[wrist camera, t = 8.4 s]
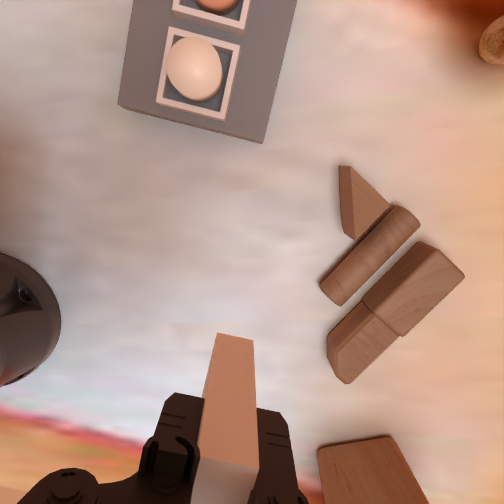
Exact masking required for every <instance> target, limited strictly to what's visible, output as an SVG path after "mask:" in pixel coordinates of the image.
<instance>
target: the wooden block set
mask: <svg viewBox="0 0 504 504" xmlns="http://www.w3.org/2000/svg"><path fill="white" fill-rule="evenodd" d="M339 190H340V205H341V218H342V226H343V230H344V233H345V234H346V235H348V236H349V237H351V238H352V239H354V240H355V241H356V240H357V239H358V238H359V237H360V236H361V235H362V234H363V233H364V232H365V231H366V230H367V229H368V227H369V226H370V225H371V224H372V223H373V222H374V221H375V220H376V219H377V218H378V217H379V216H380V215H381V214H382V213H383V212H384V211H385V210H386V209H387V208H388V207H389V206H390V204H389V203H388V202H387V201H386V200H385V199H384V198H383V197H382V196H381V195H380V194H379V193H378V192H377V191H376V190H375V189H374V188H372V187H371V186H370V185H369V184H368V183H367V182H366V181H365V180H364V179H363V178H362V177H361V176H360V175H359V174H358V173H357V172H356V171H355V170H354V169H353V168H352V167H351V166H339ZM420 225H421V224H420V222H419V221H418V219H417V218H416V217H415V216H414V215H413V214H412V213H410V212H409V211H408V210H406V209H405V208H403V207H401V206H395V207H394V208H393V209H392V210H391V211H390V212H389V213H388V215H387V216H386V217H385V218H384V219H383V220H382V221H381V222H380V223H379V224H378V225H377V226H376V227H375V228H374V229H373V230H372V231H371V232H370V233H369V234H368V235H367V236H366V237H365V238H364V240H363V241H362V242H361V243H360V244H359V245H358V246H357V247H356V248H355V249H354V250H353V251H352V252H351V253H350V254H349V255H348V256H347V257H346V258H345V259H344V260H343V261H342V262H341V263H340V265H339V266H338V267H337V268H336V269H335V270H334V271H333V272H332V273H331V274H330V275H329V276H328V277H327V278H326V279H325V280H324V281H323V282H322V283H321V284H320V286H319V287H320V289H321V290H322V292H323V293H324V294H325V295H326V296H327V297H328V298H329V299H330V300H332V301H333V302H334V303H335V304H337V305H338V306H342V305H343V304H344V303H345V302H346V301H347V300H348V299H349V298H350V297H351V296H352V295H353V294H354V293H355V292H356V291H357V290H358V289H359V288H360V287H361V286H362V285H363V284H364V283H365V282H366V281H367V280H368V279H369V278H370V277H371V276H372V275H373V274H374V273H375V272H376V271H377V270H378V269H379V268H380V267H381V266H382V265H383V264H384V263H385V262H386V261H387V260H388V259H389V258H390V257H391V256H392V255H393V254H394V253H395V252H396V251H397V249H398V248H399V247H400V246H401V245H402V244H403V243H404V242H405V241H406V240H407V239H408V238H409V237H410V236H411V235H412V234H413V233H414V232H415V231H416V230H417V229H418V228H419V227H420ZM464 278H465V276H464V274H463V272H462V271H461V270H460V269H459V268H458V267H457V266H455V265H454V264H453V263H452V262H451V261H450V260H449V259H448V258H447V257H446V256H445V255H444V254H443V253H442V252H441V251H440V250H438V249H436V248H434V247H432V246H429V245H427V244H425V243H422V242H420V241H419V242H417V243H416V244H415V245H414V246H413V247H412V248H411V249H410V250H409V251H408V252H407V253H406V254H405V255H404V256H403V257H402V258H401V259H400V260H399V261H398V262H397V263H396V264H395V265H394V266H393V267H392V268H391V269H390V270H389V271H388V272H387V273H386V274H385V275H384V276H383V277H382V278H381V279H380V280H379V281H378V282H377V283H376V284H375V285H374V286H373V287H372V288H371V289H370V290H369V291H368V292H367V293H366V294H365V295H364V296H363V298H362V300H363V301H361V302H360V303H359V304H358V305H357V306H356V307H355V308H354V309H353V310H352V311H351V312H350V313H349V314H348V315H347V316H346V318H345V319H344V320H343V321H342V322H341V323H340V324H339V325H338V326H337V327H336V328H335V329H334V330H333V331H332V332H331V333H330V334H329V335H328V337H327V358H328V360H329V362H330V364H331V367H332V369H333V371H334V373H335V375H336V377H337V378H338V379H340V380H341V381H342V382H343V383H345V384H350V383H352V382H353V381H354V380H355V379H356V378H357V377H358V376H359V375H360V374H361V373H362V372H363V371H364V370H365V369H366V368H367V367H368V366H369V365H370V364H371V363H372V362H373V361H374V360H375V359H376V358H377V357H379V356H380V355H381V354H382V353H383V352H384V351H385V350H386V349H387V348H388V347H389V346H390V345H391V344H392V343H393V342H394V341H395V340H396V339H397V338H398V337H399V336H401V337H403V336H405V335H406V334H407V333H408V332H409V331H410V330H411V329H412V328H413V327H414V326H415V325H416V324H418V323H419V322H420V321H421V320H422V319H423V318H424V317H425V316H426V315H427V314H428V313H429V312H430V311H431V310H432V309H433V308H434V307H435V306H436V305H437V304H438V303H439V302H440V301H441V300H442V299H444V298H445V297H446V296H447V295H448V294H449V293H450V292H451V291H452V290H453V289H454V288H455V287H456V286H457V285H458V284H459V283H460V282H461V281H462V280H463V279H464Z"/></svg>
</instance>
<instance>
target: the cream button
mask: <svg viewBox="0 0 504 504" xmlns="http://www.w3.org/2000/svg"><path fill="white" fill-rule="evenodd" d="M166 70H167V75H168V77H169V79H170V81H171V83H172V84H173V86H174V87H175V88H176V89H177V90H178V91H179V92H180V93H181V95H183V96H184V97H185V98H187V99H188V100H191V101H194V102H203V101H207V100H209V99H211V98H213V97H214V96H215V95H216V94H217V93H218V91H219V90H220V88H221V85H222V81H223V71H222V66H221V62H220V58H219V55H218V53H217V51H216V50H215V48H214V47H213V46H212V45H211V44H210V43H209V42H208V41H206V40H204V39H202V38H199V37H186V38H183V39H181V40H179V41H177V42H176V43H175V44H174V45H173V46H172V48H171V49H170V51H169V53H168V56H167V60H166Z"/></svg>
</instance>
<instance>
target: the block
mask: <svg viewBox="0 0 504 504" xmlns="http://www.w3.org/2000/svg"><path fill="white" fill-rule="evenodd" d="M317 460H318V466H319V472H320V478H321V484H322V490H323V496H324V502H325V504H429V502H428V500H427V499H426V497H425V495H424V493H423V491H422V489H421V488H420V486H419V484H418V482H417V480H416V478H415V477H414V475H413V473H412V471H411V469H410V467H409V466H408V464H407V462H406V460H405V458H404V456H403V455H402V453H401V451H400V449H399V447H398V445H397V444H396V442H395V441H394V440H393V439H392V438H389V437H383V438H377V439H371V440H365V441H359V442H353V443H347V444H341V445H335V446H329V447H323V448H321V449H320V450H319V453H318V457H317Z"/></svg>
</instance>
